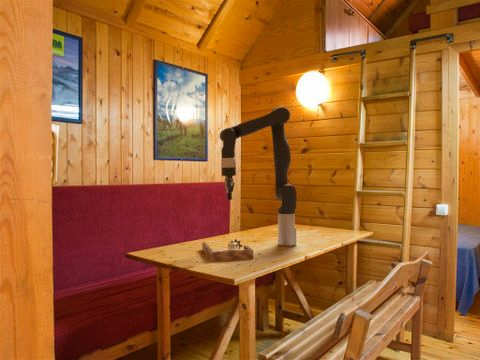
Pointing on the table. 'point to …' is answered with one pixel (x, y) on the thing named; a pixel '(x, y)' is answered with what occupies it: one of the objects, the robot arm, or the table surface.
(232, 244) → the valve
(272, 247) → the table surface
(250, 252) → the rack
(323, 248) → the table surface
